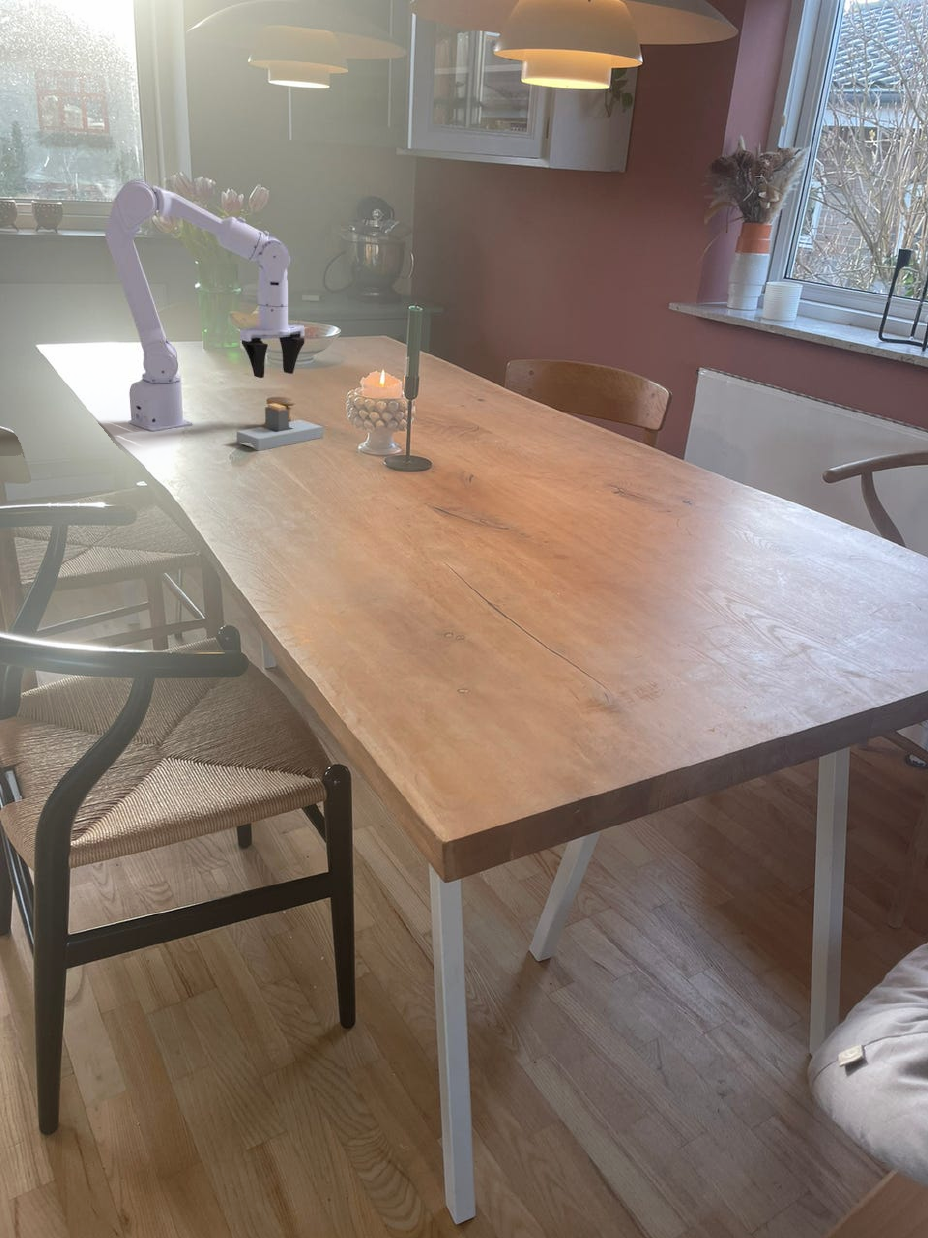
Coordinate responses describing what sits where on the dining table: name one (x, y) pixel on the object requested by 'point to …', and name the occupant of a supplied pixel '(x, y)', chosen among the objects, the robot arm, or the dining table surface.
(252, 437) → the board
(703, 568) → the dining table surface
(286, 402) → the tan wooden yo-yo
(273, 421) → the grey rectangular block
